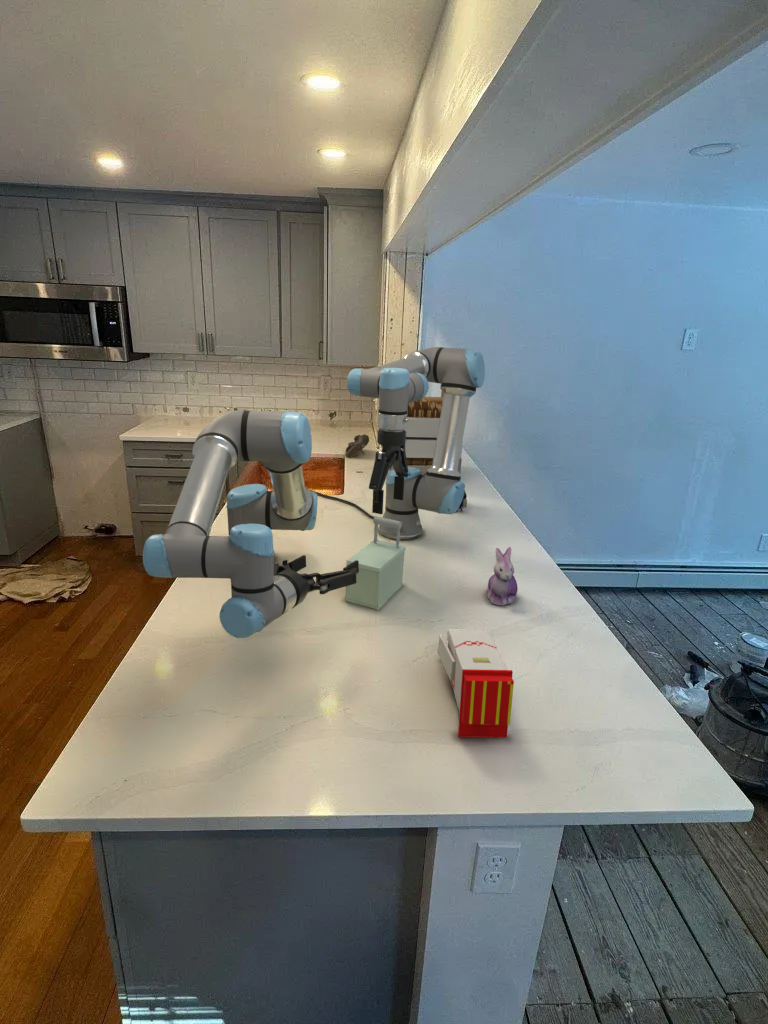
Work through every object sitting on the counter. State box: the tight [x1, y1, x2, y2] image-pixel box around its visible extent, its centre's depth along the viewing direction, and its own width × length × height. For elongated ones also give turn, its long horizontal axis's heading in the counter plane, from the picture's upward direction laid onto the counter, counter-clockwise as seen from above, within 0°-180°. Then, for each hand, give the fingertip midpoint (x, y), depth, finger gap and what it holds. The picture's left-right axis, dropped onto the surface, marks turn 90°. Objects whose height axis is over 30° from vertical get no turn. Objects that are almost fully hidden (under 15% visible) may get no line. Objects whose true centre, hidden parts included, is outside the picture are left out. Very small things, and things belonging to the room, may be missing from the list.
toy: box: [437, 628, 515, 738], centre depth 117 cm, size 12×13×30 cm
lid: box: [346, 515, 407, 573], centre depth 153 cm, size 17×10×9 cm, turn 155°
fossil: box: [344, 433, 370, 458], centre depth 304 cm, size 22×10×15 cm
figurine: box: [486, 546, 518, 606], centre depth 155 cm, size 9×10×15 cm
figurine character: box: [457, 491, 468, 512], centre depth 228 cm, size 7×8×15 cm
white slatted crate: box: [389, 391, 464, 475], centre depth 268 cm, size 34×33×41 cm
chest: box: [345, 551, 405, 610], centre depth 156 cm, size 16×10×11 cm, turn 155°
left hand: (330, 563), depth 132 cm, fingers open, 13 cm apart
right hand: (388, 506), depth 155 cm, fingers open, 13 cm apart
